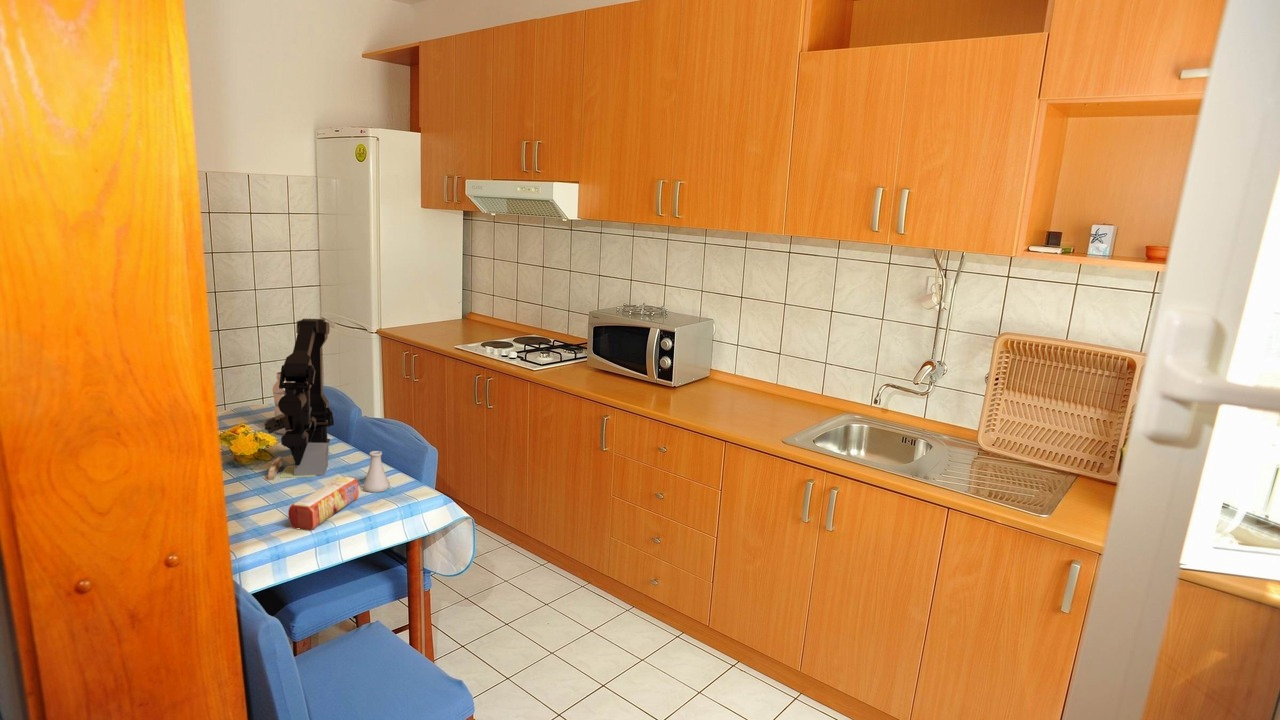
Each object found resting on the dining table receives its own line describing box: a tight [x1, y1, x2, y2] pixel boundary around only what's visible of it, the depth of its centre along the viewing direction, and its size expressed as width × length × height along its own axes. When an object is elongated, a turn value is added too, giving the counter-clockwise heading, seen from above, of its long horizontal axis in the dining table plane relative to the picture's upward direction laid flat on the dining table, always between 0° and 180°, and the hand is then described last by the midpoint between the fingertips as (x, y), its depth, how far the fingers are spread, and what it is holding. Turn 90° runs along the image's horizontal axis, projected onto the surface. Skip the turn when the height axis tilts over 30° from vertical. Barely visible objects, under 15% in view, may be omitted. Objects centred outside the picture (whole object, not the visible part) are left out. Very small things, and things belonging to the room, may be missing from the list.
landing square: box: [279, 465, 317, 479], centre depth 205 cm, size 9×9×1 cm
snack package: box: [287, 476, 360, 531], centre depth 179 cm, size 21×7×7 cm, turn 171°
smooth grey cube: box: [293, 442, 330, 476], centre depth 205 cm, size 8×8×7 cm
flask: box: [361, 450, 391, 493], centre depth 196 cm, size 7×7×10 cm
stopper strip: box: [268, 456, 282, 481], centre depth 203 cm, size 12×1×2 cm, turn 16°
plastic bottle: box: [271, 371, 291, 435], centre depth 236 cm, size 6×7×20 cm
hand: (300, 459), depth 204 cm, fingers open, 9 cm apart
